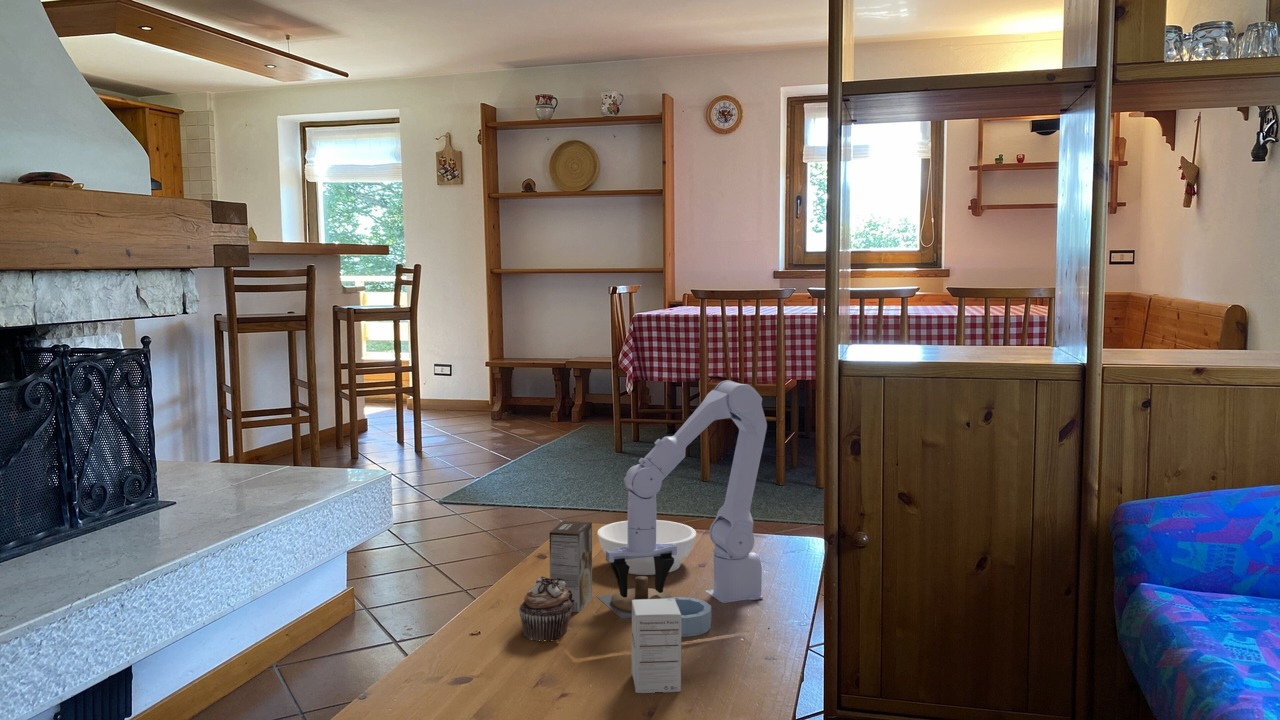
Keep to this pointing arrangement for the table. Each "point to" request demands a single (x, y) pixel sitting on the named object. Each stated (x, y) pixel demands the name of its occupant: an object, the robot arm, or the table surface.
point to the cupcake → (546, 610)
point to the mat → (607, 601)
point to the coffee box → (573, 560)
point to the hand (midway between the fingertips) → (641, 593)
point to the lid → (636, 595)
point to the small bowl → (693, 616)
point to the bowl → (665, 534)
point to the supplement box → (656, 645)
